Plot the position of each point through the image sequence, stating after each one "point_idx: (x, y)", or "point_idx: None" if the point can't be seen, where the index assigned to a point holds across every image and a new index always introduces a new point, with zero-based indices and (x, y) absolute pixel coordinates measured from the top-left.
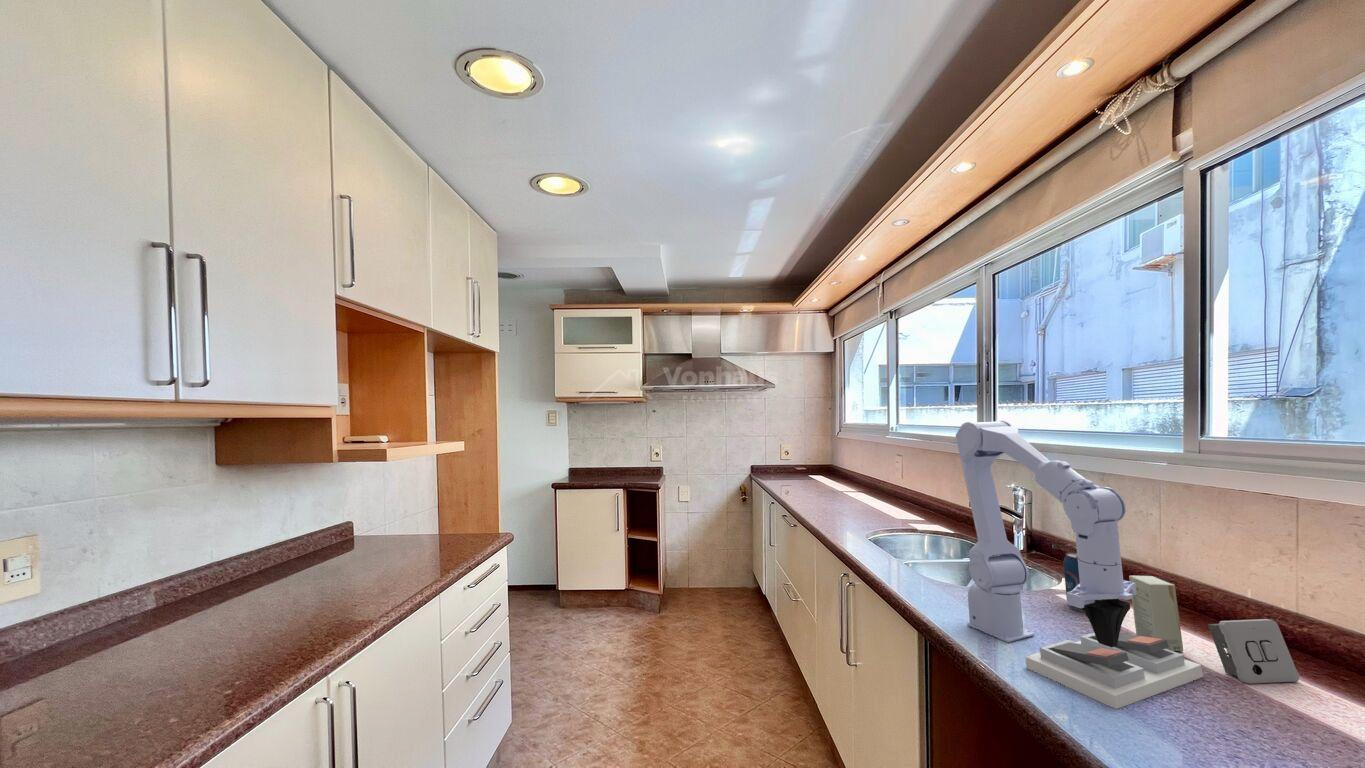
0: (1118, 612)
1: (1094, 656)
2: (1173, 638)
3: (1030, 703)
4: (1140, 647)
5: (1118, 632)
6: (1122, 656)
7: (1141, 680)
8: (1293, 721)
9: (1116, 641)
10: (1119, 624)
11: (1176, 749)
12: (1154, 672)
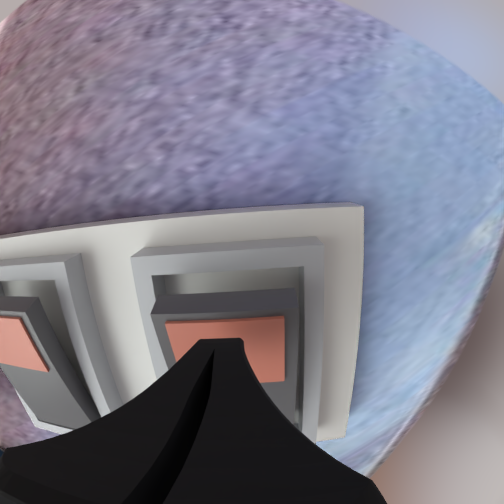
0: (212, 487)
1: (297, 348)
2: None
3: (482, 296)
4: (43, 330)
5: (181, 371)
6: (186, 307)
7: (167, 242)
8: (20, 56)
9: (205, 346)
10: (162, 401)
11: (389, 44)
12: (82, 261)
